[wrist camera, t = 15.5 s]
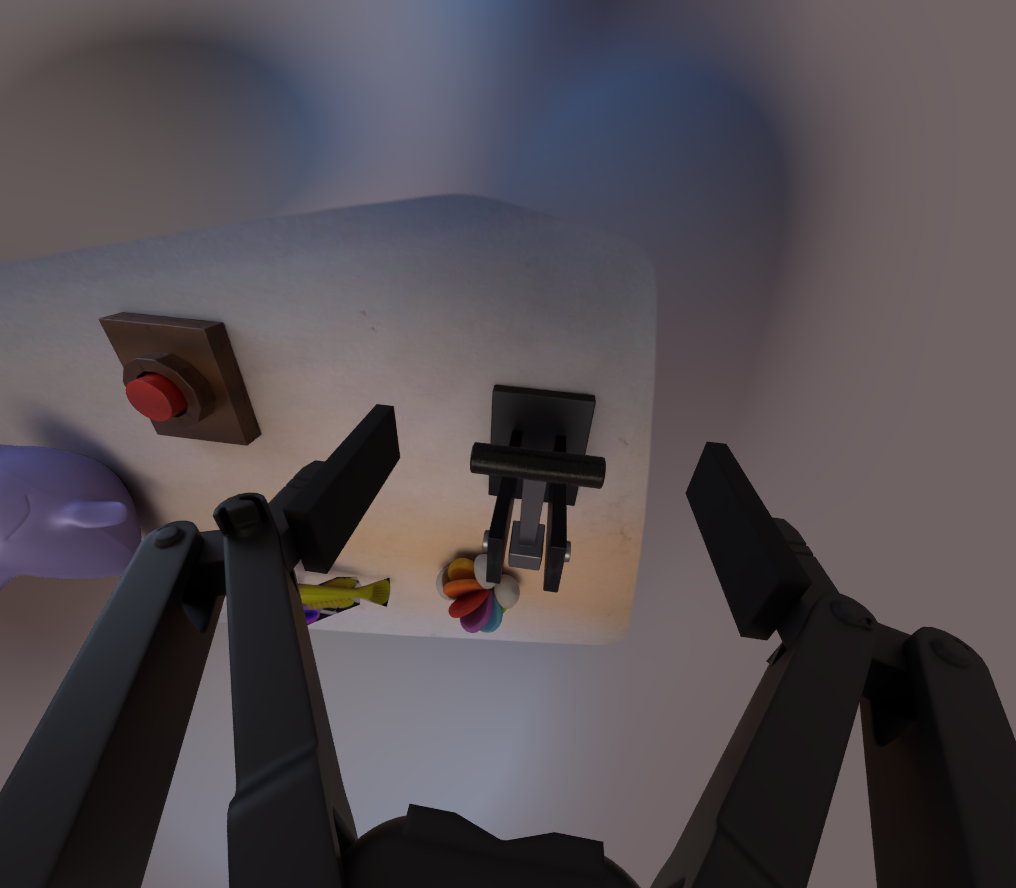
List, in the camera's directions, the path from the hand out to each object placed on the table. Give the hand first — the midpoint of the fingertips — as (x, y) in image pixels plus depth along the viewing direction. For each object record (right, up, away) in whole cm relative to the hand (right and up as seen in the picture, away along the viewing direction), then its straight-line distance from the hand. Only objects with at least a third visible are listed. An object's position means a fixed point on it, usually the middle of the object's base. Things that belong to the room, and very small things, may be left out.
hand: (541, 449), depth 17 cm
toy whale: (-50, -6, +33) cm, 61 cm away
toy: (-26, -16, +36) cm, 47 cm away
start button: (-33, +5, +19) cm, 38 cm away
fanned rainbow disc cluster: (-5, -16, +33) cm, 37 cm away
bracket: (+1, 0, +21) cm, 21 cm away
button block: (-33, +7, +22) cm, 40 cm away
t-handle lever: (0, -3, +7) cm, 7 cm away
